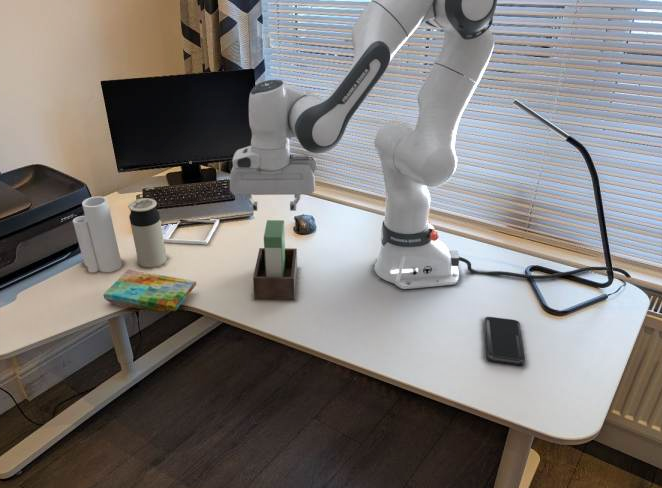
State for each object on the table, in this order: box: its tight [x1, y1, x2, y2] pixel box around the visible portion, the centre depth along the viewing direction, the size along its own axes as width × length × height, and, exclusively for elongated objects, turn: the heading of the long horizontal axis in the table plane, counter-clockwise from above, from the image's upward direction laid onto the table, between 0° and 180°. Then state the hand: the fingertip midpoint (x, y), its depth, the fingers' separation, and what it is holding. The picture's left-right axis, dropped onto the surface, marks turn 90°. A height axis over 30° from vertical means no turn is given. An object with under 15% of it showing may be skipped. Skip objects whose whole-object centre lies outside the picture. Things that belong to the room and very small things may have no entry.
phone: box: [483, 316, 526, 366], centre depth 126 cm, size 8×1×15 cm
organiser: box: [252, 247, 298, 301], centre depth 146 cm, size 10×15×7 cm
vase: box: [72, 195, 123, 274], centre depth 152 cm, size 11×7×20 cm, turn 82°
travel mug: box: [127, 197, 168, 268], centre depth 154 cm, size 8×8×18 cm
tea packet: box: [263, 219, 286, 277], centre depth 143 cm, size 4×16×9 cm
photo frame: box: [161, 218, 220, 246], centre depth 173 cm, size 15×1×18 cm
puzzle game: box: [102, 269, 197, 314], centre depth 142 cm, size 12×5×20 cm
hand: (274, 209), depth 135 cm, fingers open, 8 cm apart
